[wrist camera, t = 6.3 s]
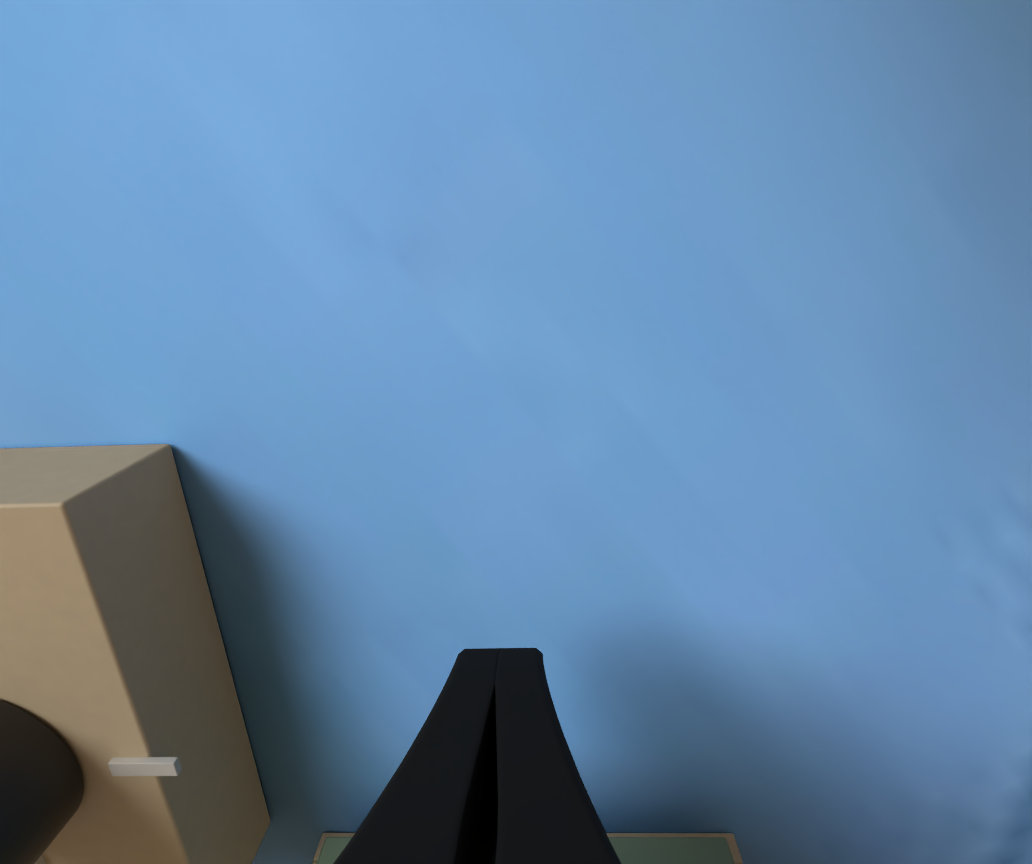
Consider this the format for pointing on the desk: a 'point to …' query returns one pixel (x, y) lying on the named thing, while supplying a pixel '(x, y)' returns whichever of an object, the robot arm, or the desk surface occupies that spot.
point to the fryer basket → (618, 850)
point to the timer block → (124, 657)
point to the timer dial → (33, 786)
